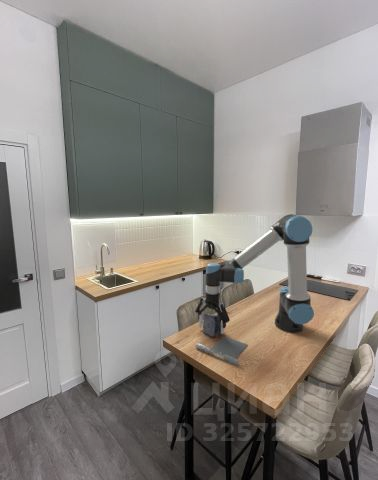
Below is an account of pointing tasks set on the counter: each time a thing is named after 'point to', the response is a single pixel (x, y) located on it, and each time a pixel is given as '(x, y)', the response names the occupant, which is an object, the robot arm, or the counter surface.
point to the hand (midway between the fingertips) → (211, 329)
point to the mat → (229, 347)
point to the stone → (211, 324)
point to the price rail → (217, 354)
